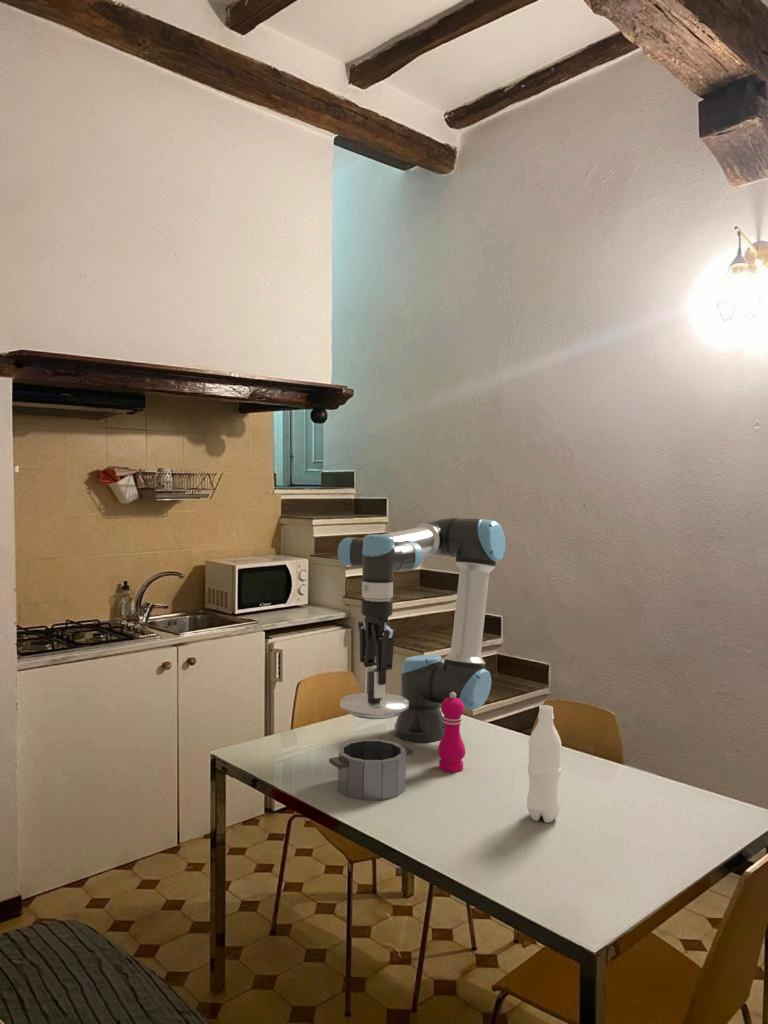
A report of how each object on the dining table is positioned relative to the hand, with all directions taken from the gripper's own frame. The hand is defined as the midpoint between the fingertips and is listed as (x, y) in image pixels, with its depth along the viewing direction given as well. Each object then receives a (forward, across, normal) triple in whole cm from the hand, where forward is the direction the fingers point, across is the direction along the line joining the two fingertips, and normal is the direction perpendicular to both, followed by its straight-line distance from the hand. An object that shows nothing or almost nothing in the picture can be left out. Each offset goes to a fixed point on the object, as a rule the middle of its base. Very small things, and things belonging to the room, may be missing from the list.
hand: (374, 695), depth 192 cm
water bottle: (+23, +34, +24) cm, 47 cm away
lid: (+4, 0, 0) cm, 4 cm away
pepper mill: (+23, -1, +25) cm, 34 cm away
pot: (+22, 0, 0) cm, 22 cm away
